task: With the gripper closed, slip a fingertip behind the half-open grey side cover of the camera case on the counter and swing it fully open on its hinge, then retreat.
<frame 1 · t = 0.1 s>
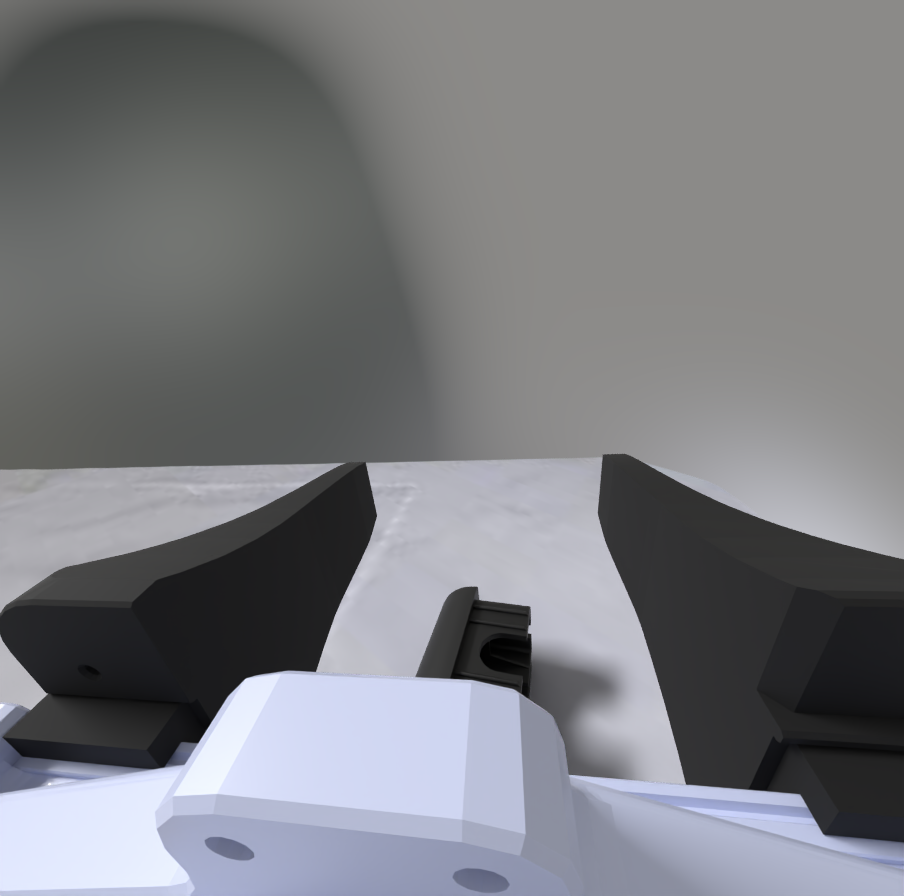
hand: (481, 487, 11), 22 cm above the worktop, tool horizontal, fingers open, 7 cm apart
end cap: (477, 712, 27), on the worktop
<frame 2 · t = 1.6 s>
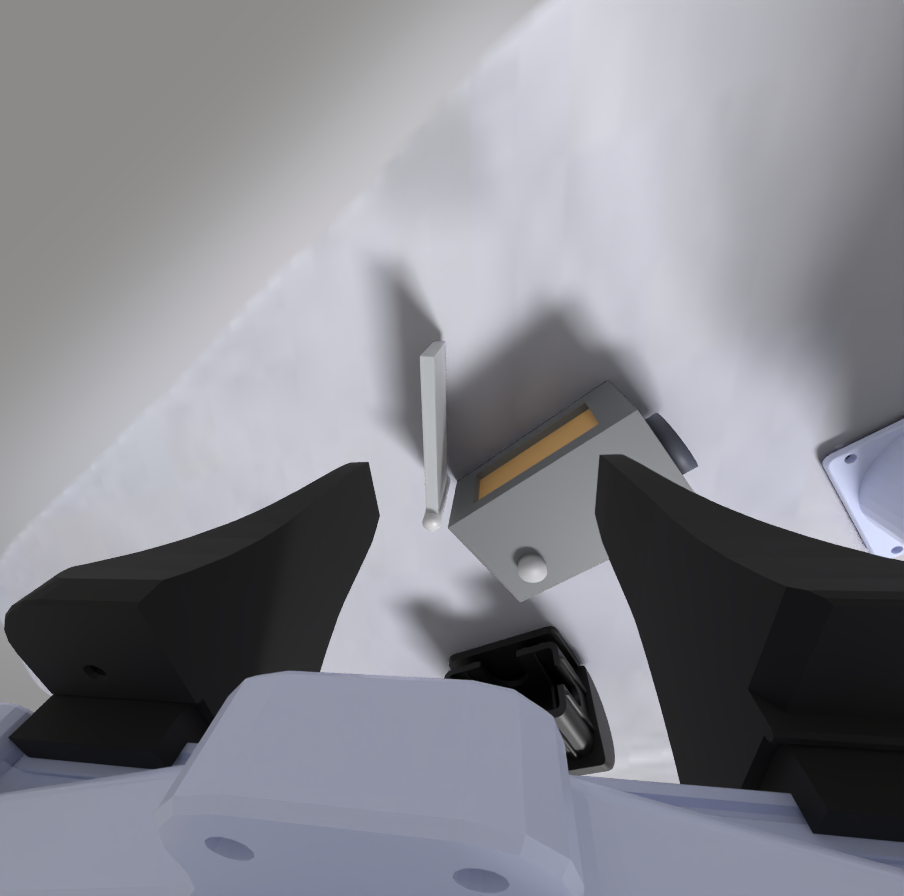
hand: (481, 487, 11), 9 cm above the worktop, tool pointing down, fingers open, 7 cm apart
camera case: (556, 473, 21), on the worktop
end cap: (519, 666, 29), on the worktop
side cover: (435, 435, 19), point 2 cm above the worktop, hinge at 50.0°
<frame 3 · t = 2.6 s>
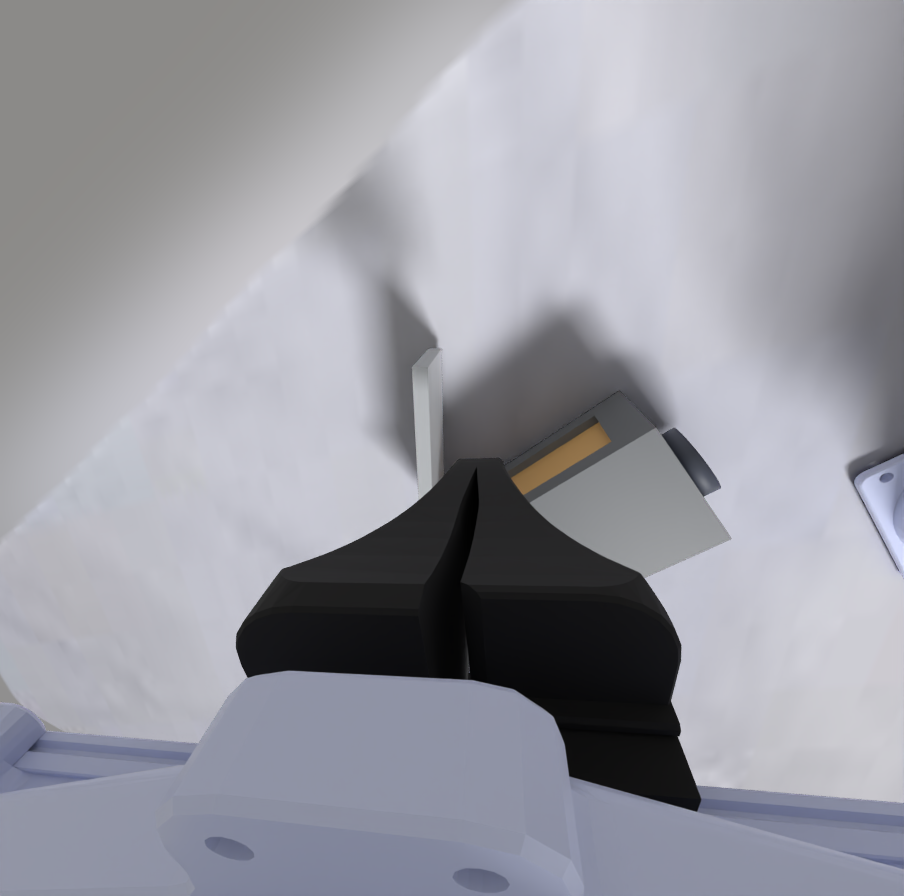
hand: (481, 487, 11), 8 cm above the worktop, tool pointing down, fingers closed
camera case: (562, 490, 20), on the worktop
side cover: (431, 451, 17), point 2 cm above the worktop, hinge at 50.0°
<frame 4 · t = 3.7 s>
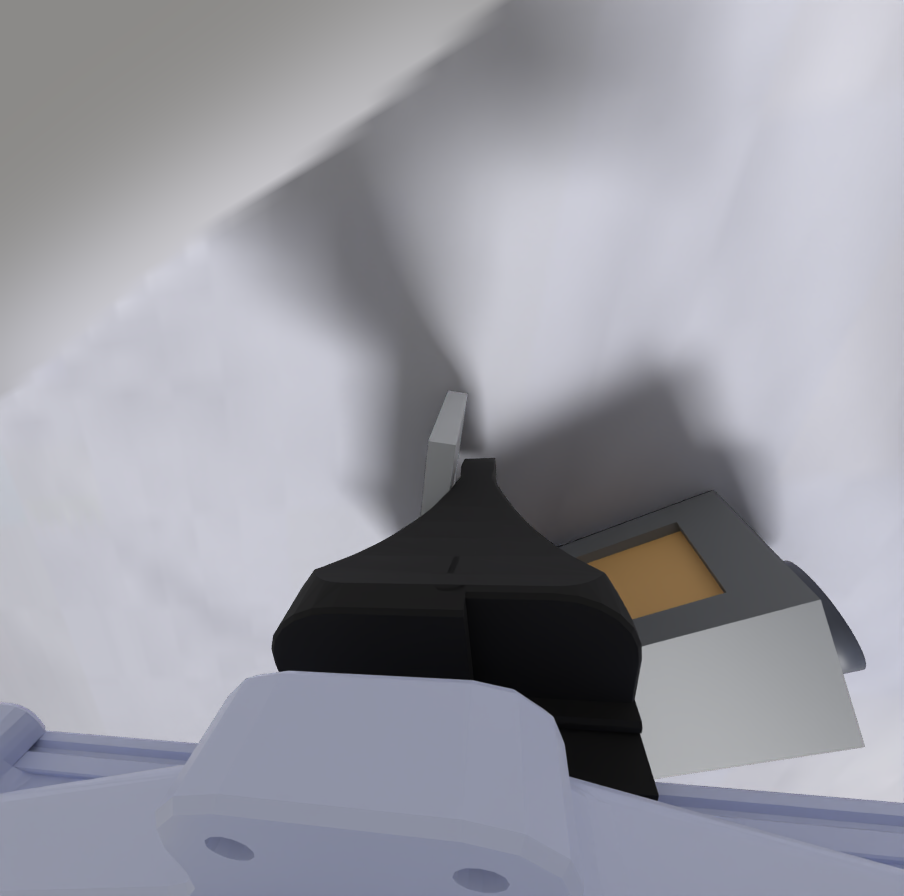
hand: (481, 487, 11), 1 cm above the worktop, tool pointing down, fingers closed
camera case: (600, 597, 15), on the worktop
side cover: (434, 543, 12), point 2 cm above the worktop, hinge at 51.8°, touching gripper
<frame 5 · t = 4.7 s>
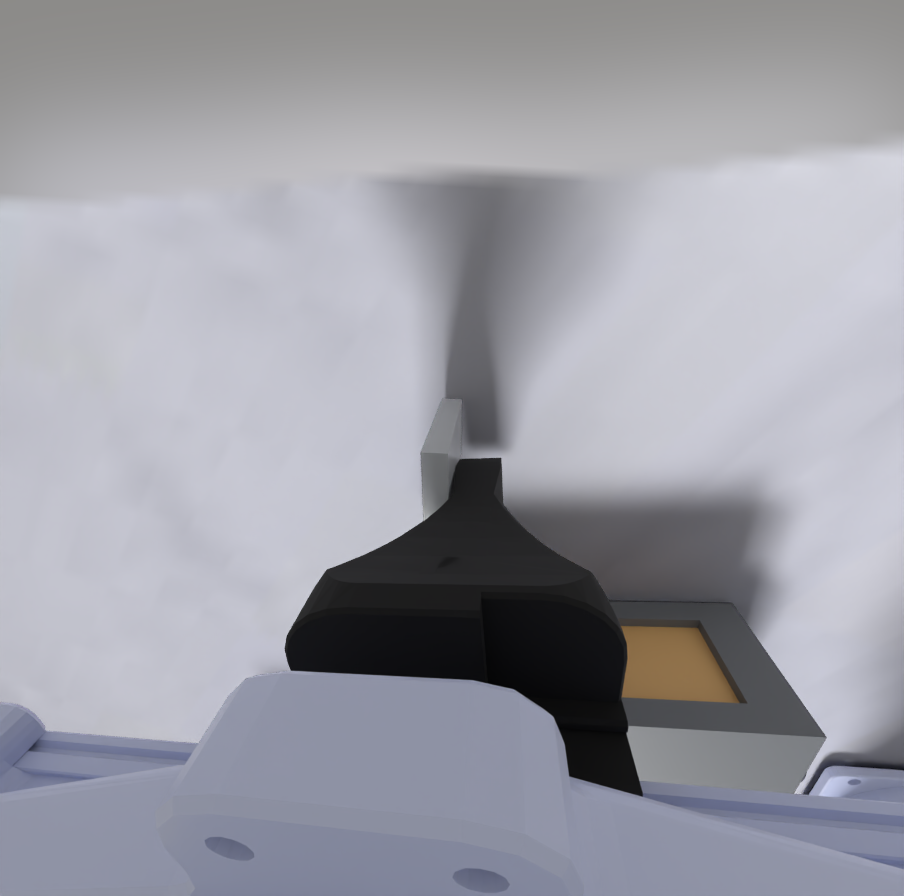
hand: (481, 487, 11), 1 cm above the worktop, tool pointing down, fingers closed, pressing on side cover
camera case: (589, 651, 16), on the worktop
side cover: (445, 551, 12), point 2 cm above the worktop, hinge at 84.7°, touching gripper
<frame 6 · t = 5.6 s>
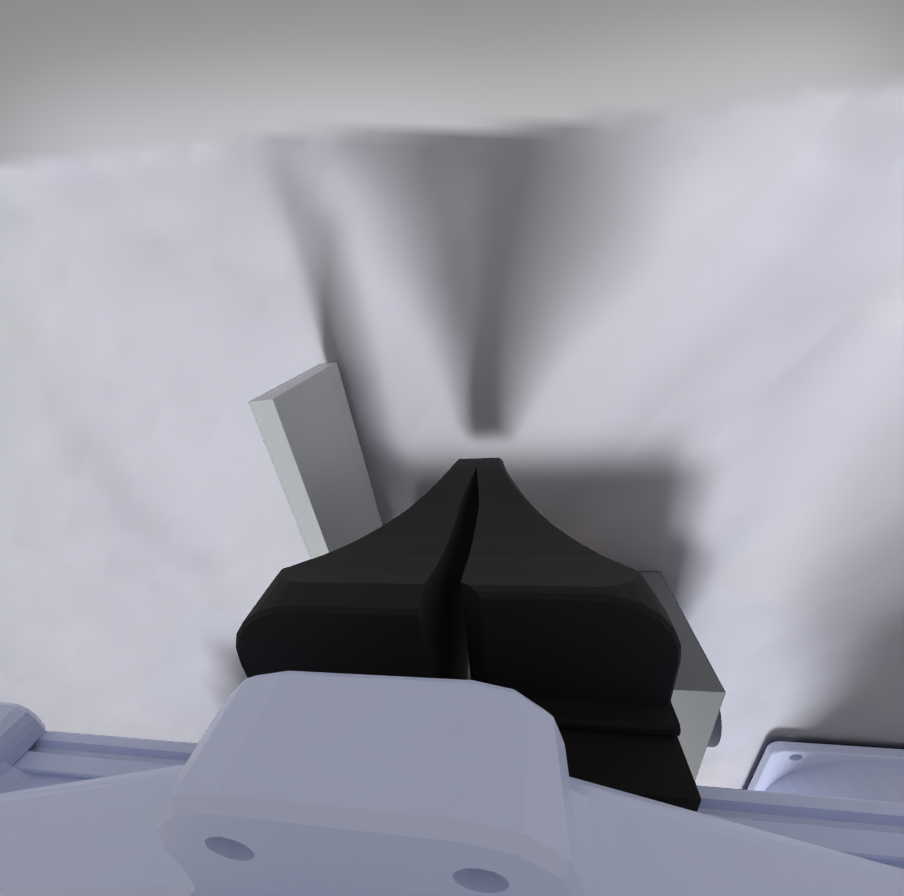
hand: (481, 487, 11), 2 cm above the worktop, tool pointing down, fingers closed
camera case: (527, 623, 16), on the worktop
side cover: (342, 512, 12), point 2 cm above the worktop, hinge at 93.5°
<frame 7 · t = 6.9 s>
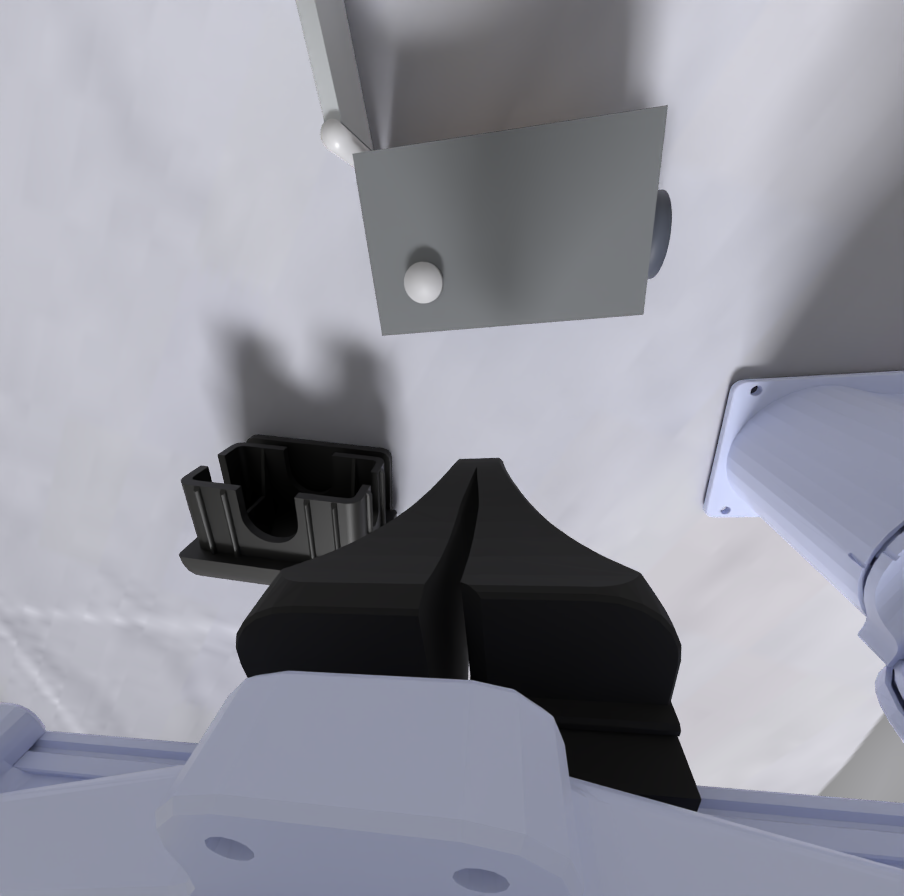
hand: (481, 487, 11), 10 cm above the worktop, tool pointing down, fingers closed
camera case: (502, 245, 17), on the worktop
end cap: (326, 487, 25), on the worktop
side cover: (325, 16, 13), point 2 cm above the worktop, hinge at 93.8°
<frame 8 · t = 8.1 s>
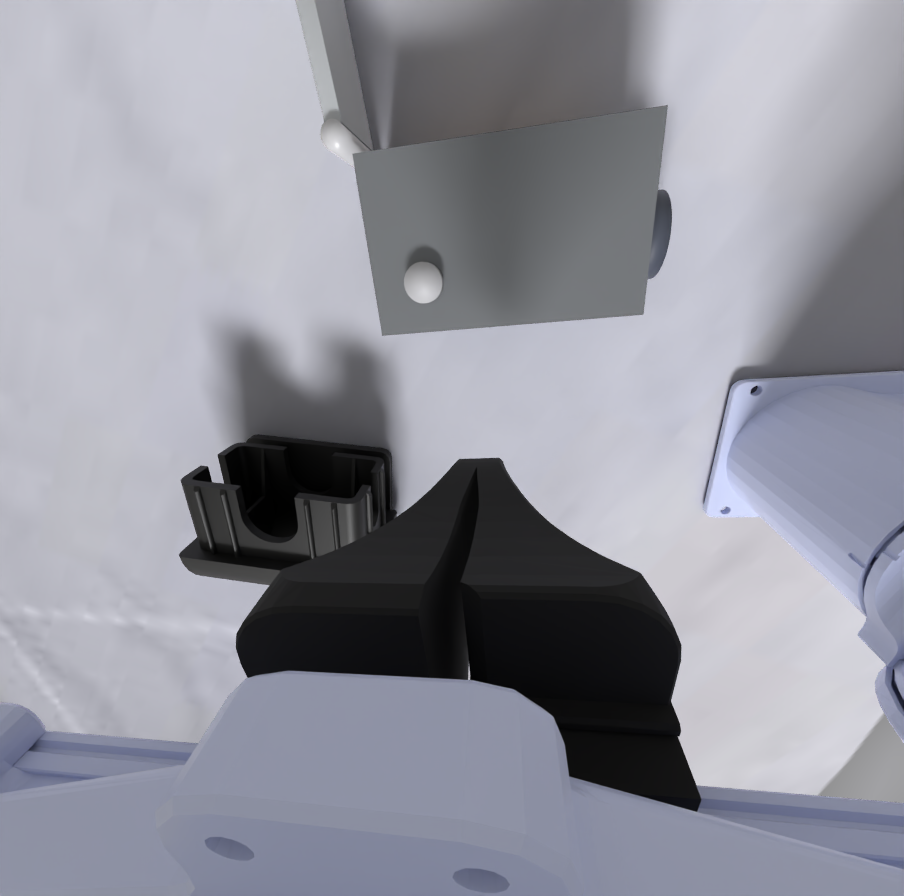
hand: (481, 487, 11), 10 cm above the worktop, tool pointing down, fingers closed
camera case: (502, 245, 17), on the worktop
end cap: (326, 487, 25), on the worktop
side cover: (325, 16, 13), point 2 cm above the worktop, hinge at 93.8°
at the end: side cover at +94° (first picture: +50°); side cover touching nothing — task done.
